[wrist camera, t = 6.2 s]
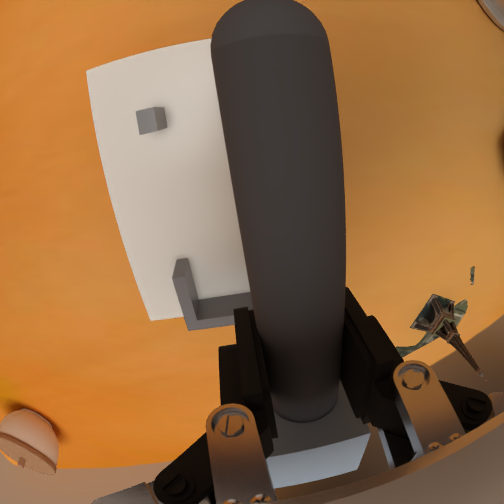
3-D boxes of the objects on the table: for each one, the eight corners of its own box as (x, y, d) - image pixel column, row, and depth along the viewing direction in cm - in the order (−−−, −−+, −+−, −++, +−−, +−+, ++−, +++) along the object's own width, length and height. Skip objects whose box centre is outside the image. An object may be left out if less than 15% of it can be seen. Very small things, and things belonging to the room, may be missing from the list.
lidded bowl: (5, 411, 38) (-12, 453, 28) (12, 389, 34) (-10, 438, 24) (57, 443, 42) (46, 486, 32) (73, 427, 39) (60, 479, 29)
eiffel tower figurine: (386, 362, 37) (425, 437, 26) (377, 313, 33) (431, 399, 21) (468, 315, 36) (518, 373, 24) (471, 261, 32) (538, 320, 20)
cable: (184, 25, 7) (159, -33, 3) (322, 13, 7) (385, -36, 3) (262, 423, 14) (272, 488, 11) (336, 408, 14) (356, 469, 11)
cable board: (93, 72, 19) (65, 66, 14) (291, 35, 19) (309, 19, 15) (153, 311, 29) (144, 346, 25) (312, 287, 30) (327, 319, 25)
